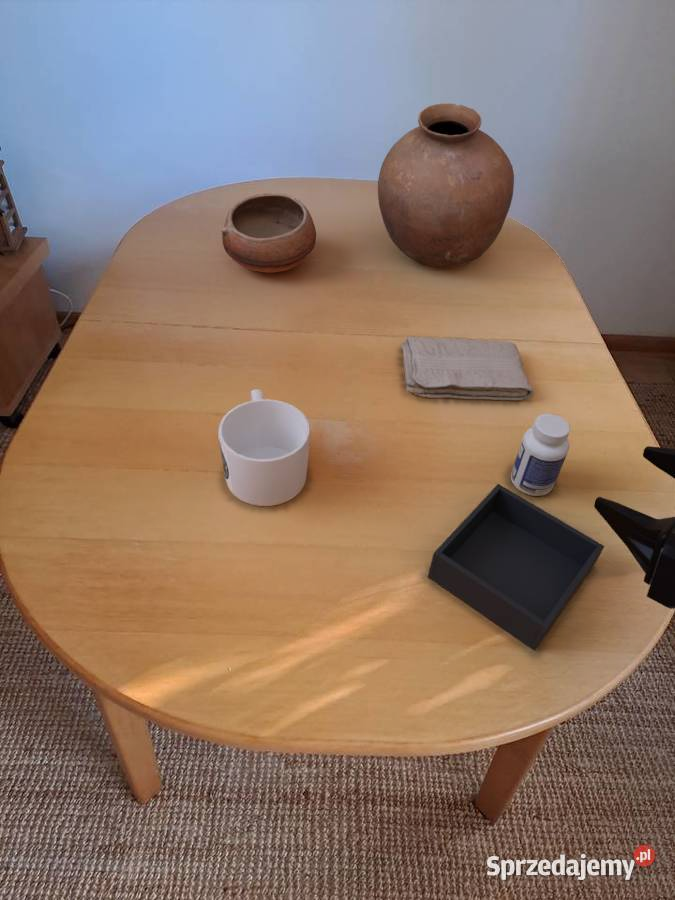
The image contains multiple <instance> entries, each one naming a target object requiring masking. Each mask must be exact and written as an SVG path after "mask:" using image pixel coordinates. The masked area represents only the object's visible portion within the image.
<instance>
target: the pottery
mask: <svg viewBox="0 0 675 900" xmlns="http://www.w3.org/2000/svg"><path fill="white" fill-rule="evenodd" d="M417 122H418V125H419V126H416V127H414V128H413V129H410V130H409V131H408V132H407V133H405V134H404V135H403V136H401V138H399V139H398V140H396V142H395V143H394V144H393V145H392V147H391V148H390V149H389V150H388V152H387V153H386V156H385V157H384V159H383V161H382V164H381V167H380V170H379V173H378V179H377V198H378V206H379V209H380V210H379V211H380V214H381V217H382V220H383V221H382V222H383V224H384V227H385V229H386V231H387V234H388V236H389V238H390V240H391V241H392V243H393V244H394V245H395V246H396V247H397V248H398V250H400V252H402V253H403V254H404V255H406V256H408V257H409V258H410V259H412V260H413V261H416V262H419V263H421V264H424V265H427V266H434V267H457V266H462V265H466V264H469V263H471V262H474V261H476V260H478V259H479V258H480V257H481V256H482V255H483V254H484V253H485V252H486V251H487V250H489V248H491V246H492V245H493V244H494V242H495V241H496V240H497V237H498V236H499V234H500V233H501V230H502V228H503V226H504V225H505V224H504V223H505V221H506V218H507V217H508V213H509V210H510V208H511V204H512V200H513V196H514V187H515V174H514V173H515V172H514V167H513V165H512V162H511V159H510V158H509V157H508V154H507V153H506V152H505V151H504V149H503V148H502V147H501V146H500V145H499V143H498V142H497V141H496V140H495V139H494V138H493V137H491V136H490V135H489V134H488V133H486V132H484V130H483V131H482V130H481V129H480V128H481V126H482V117H481V115H480V113H478V112H477V110H475V109H474V108H471V107H469V106H467V105H463V104H456V103H437V104H432V105H429V106H427V107H425V108H424V109H422V110H421V111H420V112H419V114H418V118H417Z"/></svg>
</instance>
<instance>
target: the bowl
mask: <svg viewBox="0 0 675 900" xmlns="http://www.w3.org/2000/svg"><path fill="white" fill-rule="evenodd" d="M224 221H225V222H224V225H223V227H222V228H221V239H222V242H221V243H222V246H223V249H224V251H225V253H226V254H227V255H228V256H229V258H231V259H232V260H233V262H235V263H236V264H238V265H239V266H240V267H243V268H246V269H248V270H250V271H255V272H261V273H280V272H285V271H288V270H290V269H292V268H293V269H294V268H295V267H296V266H298V265H300V264H301V263H303V262H304V261H305V260H306V258H307V257H308V255H309V254H310V253H312V251H313V250H314V248H315V246H316V245H317V244H316V243H317V229H316V225H315V223H314V219H313V217H312V215H311V213H310V211H309V209H308V208H307V206H306V205H305V204H304V203H303V202H301V200H299V199H297V198H296V197H294V196H291V195H290V194H284V193H276V192H267V193H265V192H264V193H260V194H253V195H251V196H248V197H245V198H243V199H242V200H240V201H238V202H237V203H235V204H234V205H233V206H232V207H231V208H230V209H229V211H228V213H227V215H226V218H225V220H224Z"/></svg>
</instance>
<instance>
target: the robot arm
mask: <svg viewBox="0 0 675 900" xmlns="http://www.w3.org/2000/svg"><path fill="white" fill-rule="evenodd" d="M642 456H643V457H642V458H645V460H647V461H649V463H650V464H652V465H653V466H655V467H656V468H658V469H659V470H661V472H664V473H665V474H667V475H668V476H670V477H671V478H673V479H675V448H671V447H662V446H651V445H647V446H645V447H644V449H643V452H642ZM593 508H594V509H595V510H596V511H597V513H598V514H599V515H600V516H601V518H602V519H603V520H604V521H605V522H606V524H607V525H608V526H609V527H610V528H611V529H612V531H613V532H614V533H615V534H616V535H617V536H618V538H619V539H620V540H621V542H622V543H623V544H624V545H625V547H626V548H627V549H628V551H629V552H630V553H631V555H632V557H633V558H634V559H635V561H636V562H637V563H638V565H639V567H640V568H641V569H642V571H643V572H644V574H645V575H644V577H643V582H644V583H645V584H647V585H648V586H649V588H648V590H647V593H646V597H647V598H649V599H651V600H652V601H654V602H656V603H658V604H660V605H661V606H664V607H665V608H666V609H667V608H668V609H670V610H673V609H675V516H670V517H664V518H656V517H653V516H651V515H649V514H646V513H643V512H640V510H639V511H638V510H636V509H634V508H631V507H630V506H629V507H628V506H626V505H624V504H621V503H619V502H616V501H614V500H611V499H609V498H604V497H601V496H597V497H596V499H594V503H593Z"/></svg>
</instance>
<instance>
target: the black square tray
mask: <svg viewBox="0 0 675 900" xmlns="http://www.w3.org/2000/svg"><path fill="white" fill-rule="evenodd" d="M604 548H605V545H604V544H602V543H601V542H598V541H597V540H596V539H593V538H592V537H590V536H589V535H587V534H585V533H583V532H581V531H580V530H579V529H577V528H574V527H573V526H571V525H570V524H568V523H566V522H565V521H562V519H559V518H558V517H557V516H554V515H553V514H551V513H549V512H547V511H546V510H544V509H542V508H541V507H539V506H537V505H536V504H534V503H532V502H530V501H529V500H527V499H525V498H524V497H522V496H520V495H518V494H516V493H515V492H514V491H512V490H509V488H507V487H505V486H502V485H501V484H500V483H497V484H496V485H495V486H494V488H492V490H490V492H489V493H488V494H487V495H486V496H485V497H484V498H483V499H482V500H481V501H480V503H479V504H478V505H477V506H475V508H474V509H473V510H472V511H471V512H470V513H469V514H468V516H466V518H464V520H463V521H461V523H460V524H459V525H458V526H457V527H456V528H455V530H453V532H451V534H450V535H448V537H447V538H446V539H445V540H444V541H443V542H442V544H441V545H440V546H439V547H437V549H436V550H435V551H433V554H432V559H431V562H430V567H429V569H428V574H427V578H428V579H429V580H431V581H433V582H434V583H436V585H438V586H440V587H441V588H443V589H444V590H446V591H447V592H449V593H450V594H451V595H453V596H454V597H456V598H457V599H458V600H460V601H461V602H463V603H465V604H466V605H467V606H469V607H470V608H472V609H473V610H474V611H476V612H477V613H479V614H480V615H482V616H483V617H485V618H486V619H488V620H489V621H490V622H492V623H494V624H495V626H498V627H499V628H501V629H502V630H504V631H505V632H506V633H508V634H509V635H511V636H512V637H514V639H516V640H517V641H519V642H520V643H522V644H524V645H525V646H526V647H528V648H530V649H531V650H533V651H534V652H535V651H537V649H538V648H539V646H540V645H541V644H542V642H543V641H544V639H545V638H546V636H547V634H549V632H550V630H551V629H552V627H554V625H555V623H556V622H557V620H558V619H559V618H560V617H561V615H562V613H563V612H564V611H565V609H566V608H567V606H568V604H569V603H570V602H571V600H572V599H573V597H574V596H575V595H576V593H577V592H578V590H579V589H580V588H581V586H582V584H583V583H584V582H585V580H586V579H587V578H588V576H589V574H590V573H591V572H592V570H593V569H594V566H595V564H596V563H597V562H598V559H599V558H600V556H601V554H602V552H603V550H604Z"/></svg>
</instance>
